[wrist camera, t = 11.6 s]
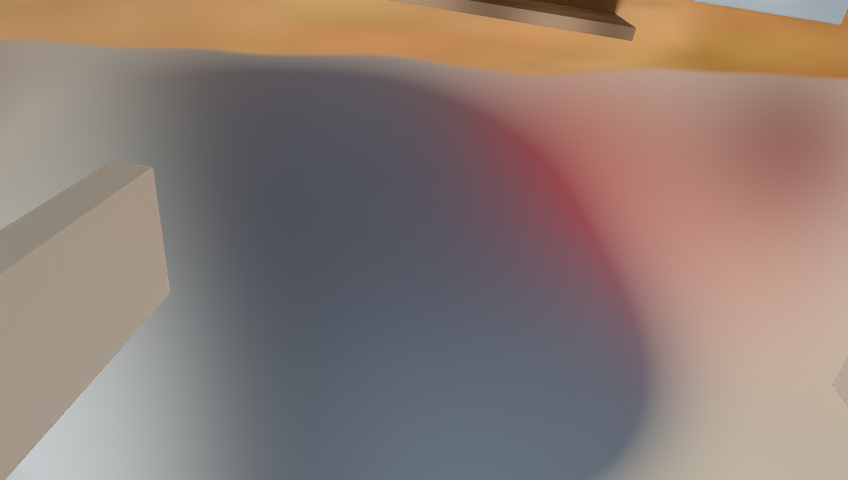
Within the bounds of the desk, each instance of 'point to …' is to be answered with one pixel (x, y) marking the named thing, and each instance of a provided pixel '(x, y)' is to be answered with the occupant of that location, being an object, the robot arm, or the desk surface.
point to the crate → (540, 15)
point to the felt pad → (793, 8)
